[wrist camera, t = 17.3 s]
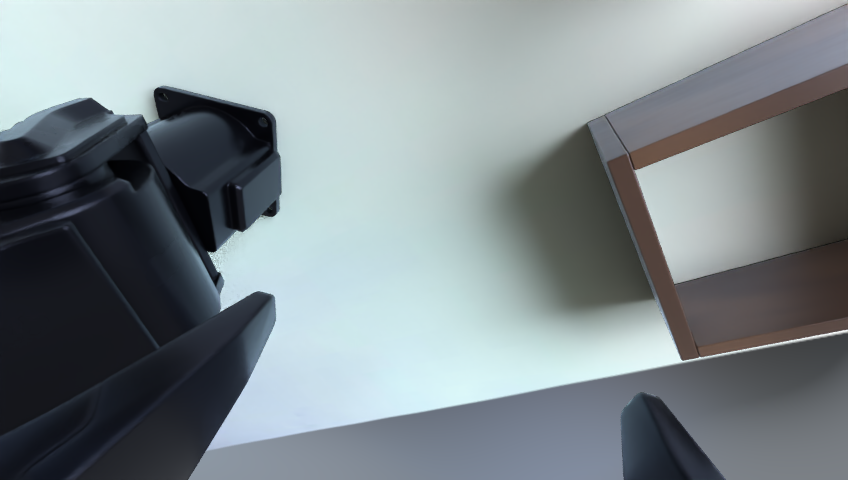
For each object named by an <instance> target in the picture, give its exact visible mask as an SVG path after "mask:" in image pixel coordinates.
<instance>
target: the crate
mask: <svg viewBox="0 0 848 480" xmlns="http://www.w3.org/2000/svg"><path fill="white" fill-rule="evenodd" d="M846 88H848V4H846V5H844V6H842V7H839V8H837V9H835V10H833V11H831V12H829V13H826V14H824V15H822V16H820V17H818V18H815V19H813V20H811V21H809V22H807V23H804V24H802V25H800V26H798V27H796V28H794V29H791V30H789V31H787V32H785V33H783V34H780V35H778V36H776V37H774V38H772V39H769V40H767V41H765V42H763V43H761V44H759V45H756V46H754V47H752V48H750V49H748V50H745V51H743V52H741V53H739V54H737V55H735V56H732V57H730V58H728V59H726V60H724V61H721V62H719V63H717V64H715V65H713V66H710V67H708V68H706V69H704V70H702V71H700V72H697V73H695V74H693V75H691V76H689V77H686V78H684V79H682V80H680V81H678V82H675V83H673V84H671V85H669V86H667V87H665V88H662V89H660V90H658V91H656V92H654V93H651V94H649V95H647V96H645V97H643V98H640V99H638V100H636V101H634V102H632V103H630V104H627V105H625V106H623V107H621V108H619V109H616V110H614V111H612V112H610V113H608V114H606V115H605V116H602V117H599V118H597V119H595V120H593V121H591V122H588V124H587V125H588V127H589V130H590V132H591V135H592V138H593V140H594V143H595V145H596V148H597V151H598V153H599V156H600V158H601V161H602V163H603V166H604V169H605V171H606V174H607V176H608V179H609V181H610V184H611V187H612V189H613V192H614V194H615V197H616V200H617V202H618V205H619V207H620V210H621V212H622V215H623V218H624V220H625V223H626V225H627V228H628V231H629V233H630V236H631V238H632V241H633V243H634V246H635V249H636V251H637V254H638V256H639V259H640V262H641V264H642V267H643V269H644V272H645V274H646V277H647V280H648V282H649V285H650V287H651V290H652V293H653V295H654V298H655V300H656V303H657V305H658V307H659V309H660V312H661V314H662V316H663V319H664V321H665V323H666V326H667V328H668V330H669V332H670V335H671V337H672V339H673V342H674V344H675V346H676V349H677V351H678V353H679V355H680V358H681V360H683V361H684V360H689V359H694V358H699V356H700V357H705V356H710V355H716V354H721V353H726V352H731V351H737V350H742V349H747V348H752V347H758V346H763V345H768V344H774V343H779V342H784V341H789V340H795V339H800V338H805V337H810V336H816V335H821V334H826V333H832V332H837V331H842V330H847V329H848V239H847V240H843V241H839V242H836V243H832V244H828V245H824V246H820V247H817V248H813V249H809V250H805V251H801V252H798V253H794V254H790V255H786V256H782V257H779V258H775V259H771V260H767V261H764V262H760V263H756V264H752V265H748V266H745V267H741V268H737V269H733V270H729V271H726V272H722V273H718V274H714V275H710V276H707V277H703V278H699V279H695V280H691V281H688V282H684V283H680V284H676V285H674V282H673V280H672V277H671V274H670V271H669V268H668V265H667V262H666V260H665V257H664V254H663V251H662V248H661V245H660V242H659V240H658V237H657V234H656V231H655V228H654V225H653V222H652V219H651V217H650V214H649V211H648V208H647V205H646V202H645V199H644V197H643V194H642V191H641V188H640V185H639V182H638V179H637V177H636V174H635V171H634V170H637V169H640V168H643V167H645V166H648V165H650V164H653V163H656V162H658V161H661V160H663V159H666V158H668V157H671V156H674V155H676V154H679V153H681V152H684V151H686V150H689V149H692V148H694V147H697V146H699V145H702V144H704V143H707V142H710V141H712V140H715V139H717V138H720V137H722V136H725V135H728V134H730V133H733V132H735V131H738V130H741V129H743V128H746V127H748V126H751V125H753V124H756V123H759V122H761V121H764V120H766V119H769V118H771V117H774V116H777V115H779V114H782V113H784V112H787V111H789V110H792V109H795V108H797V107H800V106H802V105H805V104H808V103H810V102H813V101H815V100H818V99H820V98H823V97H826V96H828V95H831V94H833V93H836V92H838V91H841V90H844V89H846Z"/></svg>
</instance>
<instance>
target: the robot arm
mask: <svg viewBox="0 0 848 480" xmlns="http://www.w3.org/2000/svg"><path fill="white" fill-rule="evenodd" d="M164 94H165V95H166V96H167V98H168V99H166V98H165V96H164ZM154 98H155V102H156V107H157V111H158V116H159V119H157V120H155V121H153V122H150V123H148V124H147V123H146V121H145V119H144V117H143V115H141V114H138V115H114V113H113V111H112V110H108V109H106V108H105V107H103V106H102V105H100V104H99V103H98V102H96V101H95V100H93V99H92V98H79V99H75V100H72V101H69V102H66V103H63V104H60V105H57V106H54V107H51V108H48V109H45V110H42V111H40V112H37V113H35V114H33V115H31V116H30V117H28V118H26V119H25V120H24V121H21V122H18V123H16V124H15V125H14V126H13V127H12V128H11V129H9V130H5V131H2V132H0V480H188V479H189V477H190V476H191V474H192V472H193V471H194V469H195V468H196V466H197V464H198V463H199V461H200V459H201V458H202V456H203V454H204V453H205V451H206V450H207V448H208V446H209V445H210V443H211V441H212V440H213V438H214V436H215V435H216V433H217V432H218V430H219V428H220V427H221V425H222V423H223V422H224V420H225V418H226V417H227V415H228V414H229V412H230V410H231V409H232V407H233V405H234V404H235V402H236V400H237V399H238V397H239V396H240V394H241V392H242V391H243V389H244V387H245V385H246V384H247V382H248V380H249V378H250V376H251V374H252V372H253V370H254V367H255V365H256V363H257V361H258V359H259V357H260V355H261V353H262V350H263V348H264V346H265V344H266V342H267V340H268V338H269V335H270V333H271V331H272V329H273V327H274V324H275V321H276V308H275V297H274V296H273V295H272V294H268V293H265V292H261V291H257V292H254V293H253V294H251V295H249V296H247V297H246V298H244V299H242V300H241V301H239V302H237V303H235V304H234V305H232V306H230V307H229V308H227V309H225V310H223V311H222V312H220V310H221V304H220V293H221V290H222V287H223V285H224V279H223V277H222V275H221V273H220V272H217V270H216V268H215V266H214V264H213V262H212V260H211V258H210V256H209V254H208V252H216V251H217V250H218V249H219V248H220V247H221V246H222V245H223V244H224V243H225V242H226V241H227V240H228V239H229V238H230V237H231V236H232V235H233V234H234V233H235V232H236V231H241V232H243V231H245V230H246V229H248V228H249V227H250V226H251V225H252V224H253V223H254V222H255V221H256V219H257V218H258V217H259V216H260V215H265V216H268V217H273V216H275V215H276V214H277V213H278V212H279V209H280V208H279V196H280V195H281V192H282V191H281V164H280V155H279V154H278V152H277V137H276V121H275V118H274V116H273V115H272V114H271V113H270V112H268V111H265V110H261V109H257V108H253V107H249V106H245V105H241V104H237V103H233V102H229V101H225V100H221V99H217V98H213V97H209V96H205V95H201V94H197V93H193V92H189V91H185V90H181V89H177V88H173V87H169V86H161V87H158V88H156V89H155V90H154ZM262 118H264V119H266V120H267V123H268V125H267V124H265V123H264V122H263V120H262ZM268 207H271V208H272V210H271V209H269V208H268ZM207 251H208V252H207ZM219 312H220V313H219ZM621 435H622V436H621V437H622V457H623V476H624V480H726V479H725V478H724V477H723V475H722V474H721V473H720V472H719V470H718V469H717V468H716V467H715V465H714V464H713V463H712V462H711V460H710V459H709V458H708V457H707V455H706V454H705V453H704V452H703V450H702V449H701V448H700V447H699V446H698V444H697V443H696V442H695V441H694V439H693V438H692V437H691V436H690V434H689V433H688V432H687V431H686V430H685V428H684V427H683V426H682V424H681V423H680V422H679V421H678V420H677V418H676V417H675V416H674V415H673V414H672V412H671V411H670V410H669V408H668V407H667V406H666V405H665V403H664V402H663V401H662V400H661V399H660V398H659V397H657V396H655V395H651V394H647V393H644V392H640V393H638V394H637V395H636V396H635V397H634V398H633V399H632V400H631V401H630V402H629V403H628V404H627V405H626V407H625V408H624V409H623V411H622V413H621Z"/></svg>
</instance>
